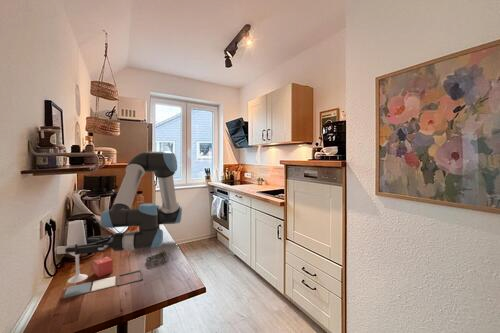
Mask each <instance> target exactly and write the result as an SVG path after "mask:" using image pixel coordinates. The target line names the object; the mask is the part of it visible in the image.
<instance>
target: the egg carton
mask: <svg viewBox="0 0 500 333" xmlns="http://www.w3.org/2000/svg"><path fill="white" fill-rule="evenodd" d="M169 257H170V256H169V254H167V252H166V250H162V251H161V250H160V251H159V252H158V253H155V254H153V255H151V256H147V257H145V263H146V264H147V266H148V267H149V266H150V267H153V266H154V265H156V264H157V265H160V264H161V263H167V261H169Z"/></svg>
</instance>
